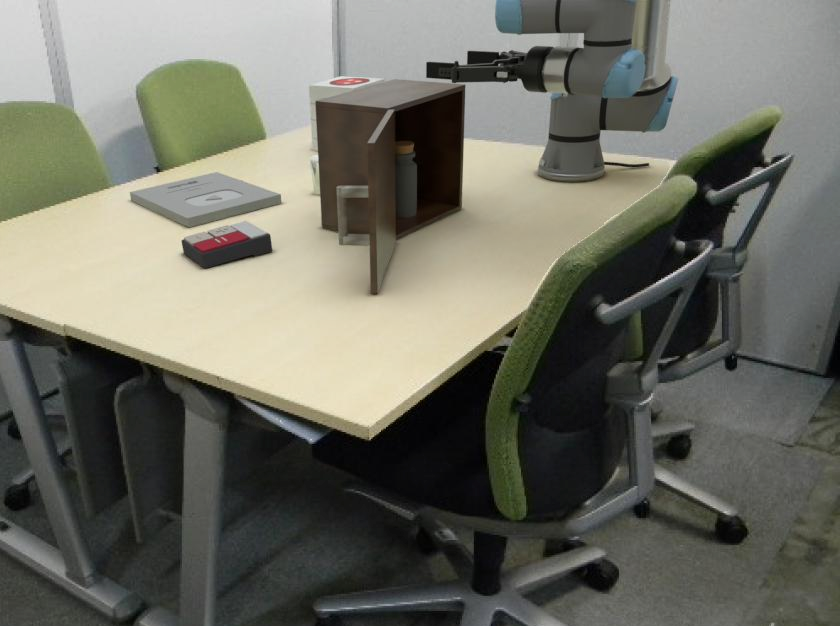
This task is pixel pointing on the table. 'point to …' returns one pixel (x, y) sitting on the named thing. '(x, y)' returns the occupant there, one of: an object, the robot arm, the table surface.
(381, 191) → the cupboard door
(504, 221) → the table surface
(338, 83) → the pizza boxes
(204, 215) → the award plaque
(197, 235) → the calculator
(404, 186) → the bottle
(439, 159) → the cupboard
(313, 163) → the milkshake
